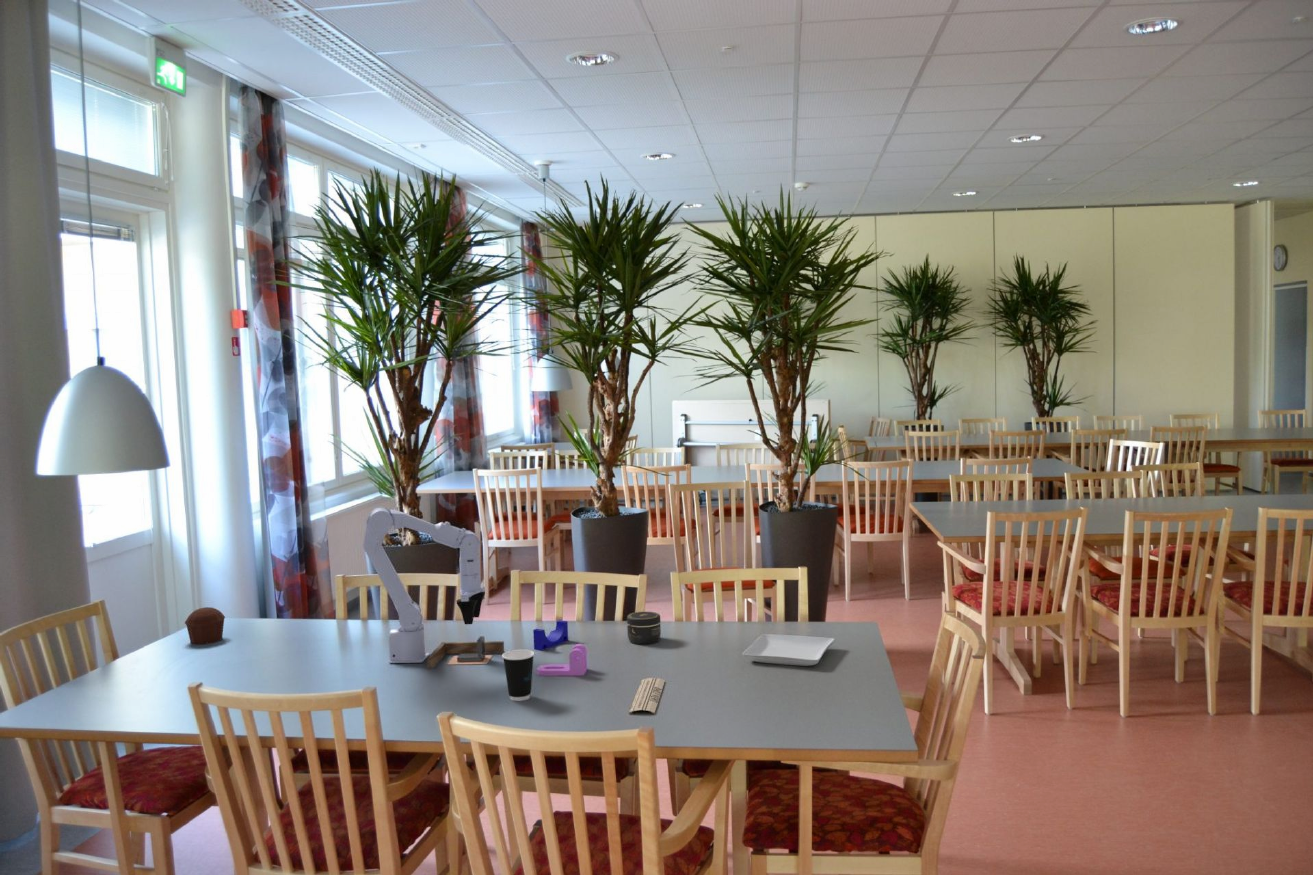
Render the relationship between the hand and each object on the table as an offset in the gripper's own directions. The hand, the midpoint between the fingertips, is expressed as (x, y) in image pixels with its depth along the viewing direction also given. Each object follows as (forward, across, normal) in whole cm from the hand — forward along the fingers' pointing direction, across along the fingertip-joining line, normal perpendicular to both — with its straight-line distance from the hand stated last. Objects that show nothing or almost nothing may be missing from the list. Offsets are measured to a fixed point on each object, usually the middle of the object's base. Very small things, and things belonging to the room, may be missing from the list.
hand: (472, 620), depth 280 cm
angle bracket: (+9, -7, -1) cm, 12 cm away
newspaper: (+10, -40, -54) cm, 68 cm away
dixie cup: (+10, -39, -22) cm, 46 cm away
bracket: (+10, -19, -29) cm, 36 cm away
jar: (+10, +10, -49) cm, 51 cm away
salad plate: (+10, -7, -90) cm, 91 cm away
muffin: (+10, +17, +88) cm, 91 cm away
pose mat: (+9, -8, -1) cm, 12 cm away
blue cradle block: (+10, +8, -21) cm, 24 cm away
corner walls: (+9, -7, 0) cm, 12 cm away
